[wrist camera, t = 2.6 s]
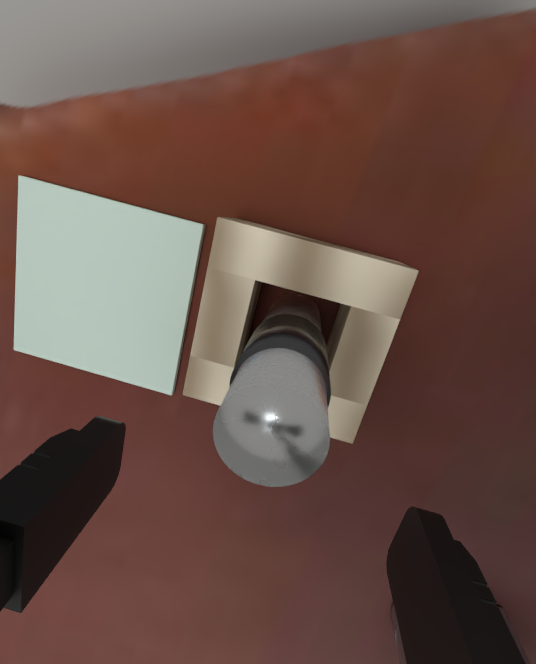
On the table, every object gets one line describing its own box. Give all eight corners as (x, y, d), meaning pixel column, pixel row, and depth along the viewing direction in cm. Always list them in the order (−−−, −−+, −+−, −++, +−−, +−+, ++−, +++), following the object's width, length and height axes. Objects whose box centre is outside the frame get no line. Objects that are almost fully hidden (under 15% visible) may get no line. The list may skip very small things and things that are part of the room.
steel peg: (330, 298, 27) (354, 399, 12) (313, 352, 28) (314, 506, 13) (273, 282, 27) (221, 362, 12) (259, 336, 28) (196, 471, 13)
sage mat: (205, 224, 26) (203, 224, 26) (174, 392, 31) (171, 395, 30) (24, 176, 27) (18, 175, 26) (19, 347, 31) (13, 349, 31)
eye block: (398, 261, 25) (418, 270, 21) (346, 407, 29) (352, 443, 24) (235, 217, 26) (217, 216, 21) (203, 367, 30) (182, 394, 25)
